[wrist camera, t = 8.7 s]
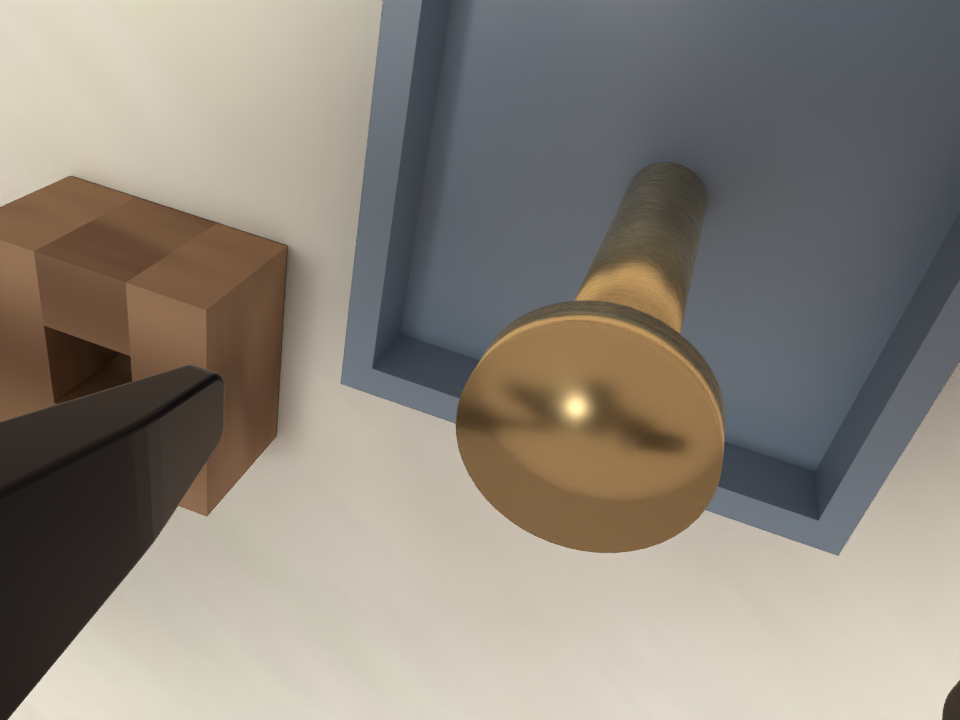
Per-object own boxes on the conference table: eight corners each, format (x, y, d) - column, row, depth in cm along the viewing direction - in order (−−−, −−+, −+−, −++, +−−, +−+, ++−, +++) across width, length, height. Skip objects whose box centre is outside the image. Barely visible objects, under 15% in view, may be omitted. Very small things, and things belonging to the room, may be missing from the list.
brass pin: (713, 289, 19) (671, 586, 11) (574, 246, 20) (436, 500, 12) (768, 149, 17) (766, 383, 9) (614, 107, 18) (482, 292, 10)
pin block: (276, 436, 27) (206, 516, 24) (89, 369, 28) (-2, 436, 25) (287, 245, 23) (206, 309, 20) (69, 175, 24) (-42, 225, 21)
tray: (832, 490, 22) (838, 556, 20) (378, 338, 24) (340, 383, 22) (1142, -44, 14) (1203, -29, 12) (451, -201, 16) (406, -210, 14)
